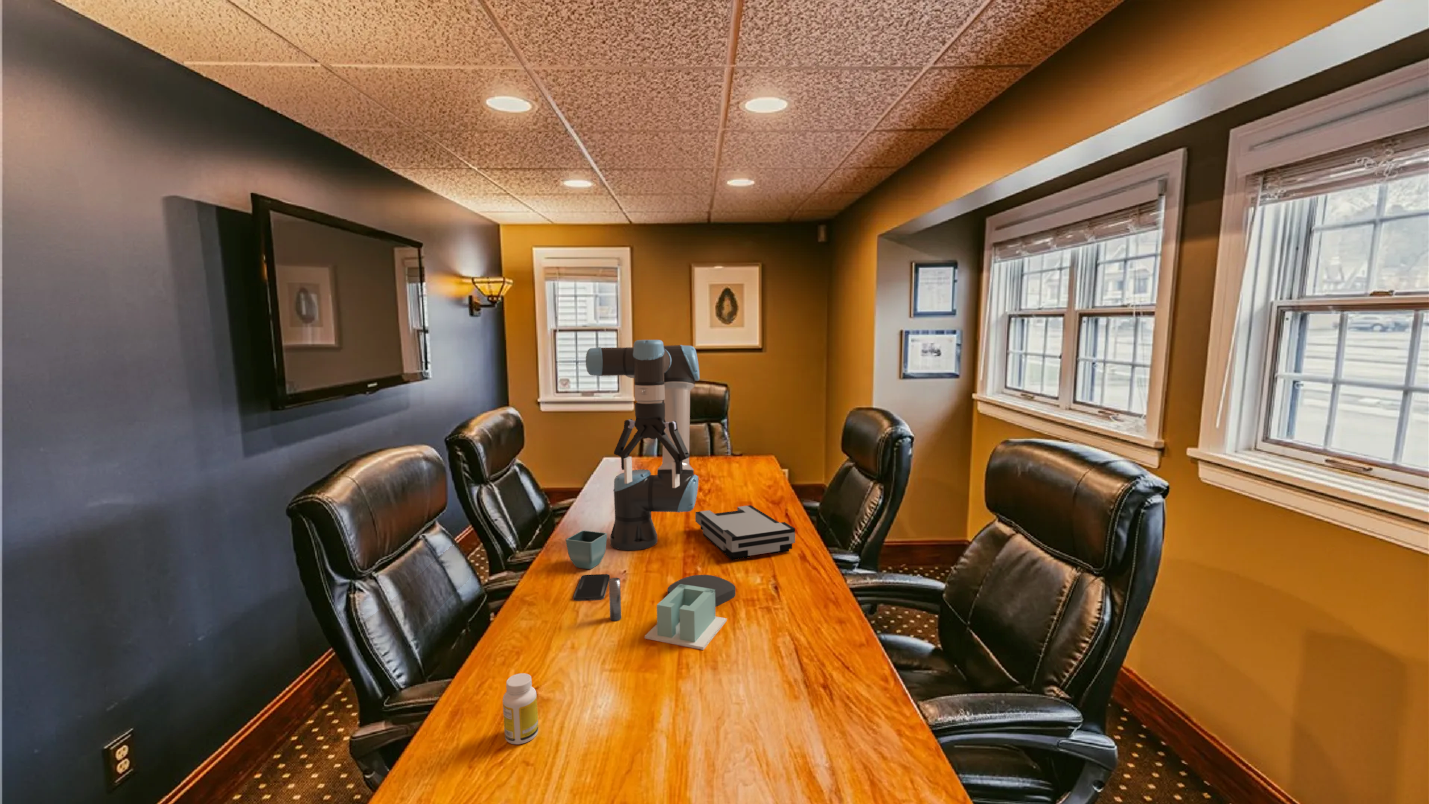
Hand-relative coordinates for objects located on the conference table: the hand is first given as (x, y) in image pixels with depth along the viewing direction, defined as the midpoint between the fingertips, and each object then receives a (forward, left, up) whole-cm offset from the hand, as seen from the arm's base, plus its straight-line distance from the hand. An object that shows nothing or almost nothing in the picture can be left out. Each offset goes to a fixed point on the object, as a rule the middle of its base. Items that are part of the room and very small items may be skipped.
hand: (651, 484), depth 154 cm
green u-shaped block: (+15, +16, -28) cm, 36 cm away
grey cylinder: (+16, -2, -29) cm, 33 cm away
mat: (+15, +16, -29) cm, 36 cm away
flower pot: (-10, -27, -29) cm, 41 cm away
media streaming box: (-3, +12, -29) cm, 32 cm away
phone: (+3, -17, -29) cm, 34 cm away
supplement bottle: (+58, +5, -29) cm, 65 cm away
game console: (-45, +9, -29) cm, 54 cm away
